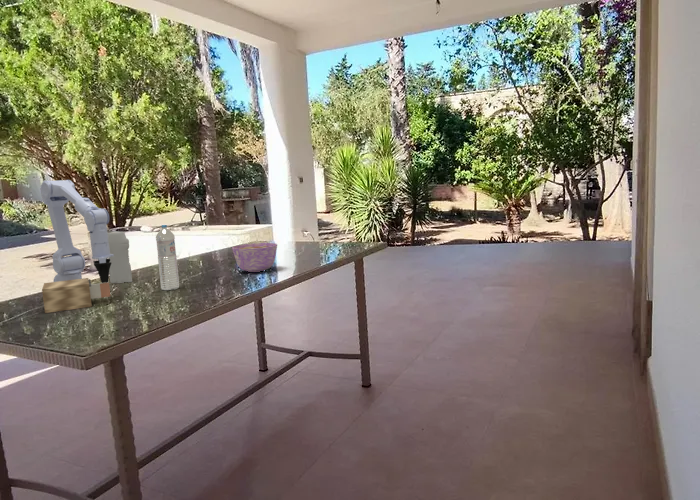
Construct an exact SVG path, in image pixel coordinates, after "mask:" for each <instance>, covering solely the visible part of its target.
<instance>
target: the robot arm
mask: <svg viewBox="0 0 700 500" xmlns="http://www.w3.org/2000/svg"><path fill="white" fill-rule="evenodd" d="M40 194H41V197H42V201H43V204H44V205H46V207H47V209H48V215H49V219H50V221H51V226H52V230H53V232H54V238H55V241H56V244H57V250H56V251H55V252H54V253H53V254H52V268H53V271H54V272H55V273H56V274H55V275H54V278H53V281H52V282H58V281H67V280H75V279H83V278H82V277H83V275H82V273H83V272H84V269H85V267H86V260H85V257H84V256H83V254H82V250H81V249H79V248H77V247H75V246H74V243H73V240H72V239H73V238H72V236H71V231H70V228H69V224H68V220H67V216H66V213H65V208H64V206H65V204H68V203H69V202H71V203H72V204H74V209H75V211H76V212H78V213H79V215H81V216H82V217H83V220H84V223H85V225H86V229H87V231H88V232H89V240H90V246H91V247H90V248H91V255H92V256H91V259H93V262H92V263H93V266H94V267H95V269H96V270H97V273H98V276H99V279H100V283H106V282H109V281H110V275H109V270H110V266H111V264H112V263H111V262H110V259H108V258H109V257H112V256H114V254H110V249H109V241H108V233H109V232H108V225H109V222H110V213H109V211H108V210H107V209H106V208H101V207H100V208H99V207H98V206H97V205H96V204H95V203H93V201H92V200H91V199H90V198H89V197H83V196H81V194H80V193H79V192H78V191H77V190H76V187H75V183H74V182H73V181H72V180H70V179H63V180H61V179H59V180H46V179H45V180H43V181H42V182H41V184H40Z"/></svg>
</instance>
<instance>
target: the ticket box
mask: <svg viewBox="0 0 700 500" xmlns="http://www.w3.org/2000/svg"><path fill="white" fill-rule="evenodd" d="M91 284H92V282H91V279H89V277H86V278H85V277H84V278H82V279H75V280H67V281H58V282H53V281H51V282H44V283H43V285H42V288H41V292H42V293H41V294H42V300H43V307H44V314H48V313H55V312H62V311H63V312H64V311H69V310H77V309H83V308H91V307H93V305H92V299H91V296H90V288H89V287H91Z"/></svg>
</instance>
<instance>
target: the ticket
mask: <svg viewBox="0 0 700 500" xmlns="http://www.w3.org/2000/svg"><path fill="white" fill-rule="evenodd" d="M89 288H90V296H91V300H93V299H100V298H109V297H111V288H110V282H109V281H108V282H105V283H102V282H98V283H91V287H89Z"/></svg>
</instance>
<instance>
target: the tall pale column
mask: <svg viewBox="0 0 700 500" xmlns="http://www.w3.org/2000/svg"><path fill="white" fill-rule="evenodd" d="M129 240H130V239H128V238H127V236H126V233H125V232H123V231H112V232H108V241H109V249H110V254H114V256H112V257H109V258H107V259H110V262H111V263H112V264H111V266H110V270H109V281H110V282H109V284H125V283H124V282H128V283H133V275H132V273H133V272H132V267H131V263H130V256H129V255H130V254H129V252H130V250H129V248H130V241H129Z"/></svg>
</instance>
